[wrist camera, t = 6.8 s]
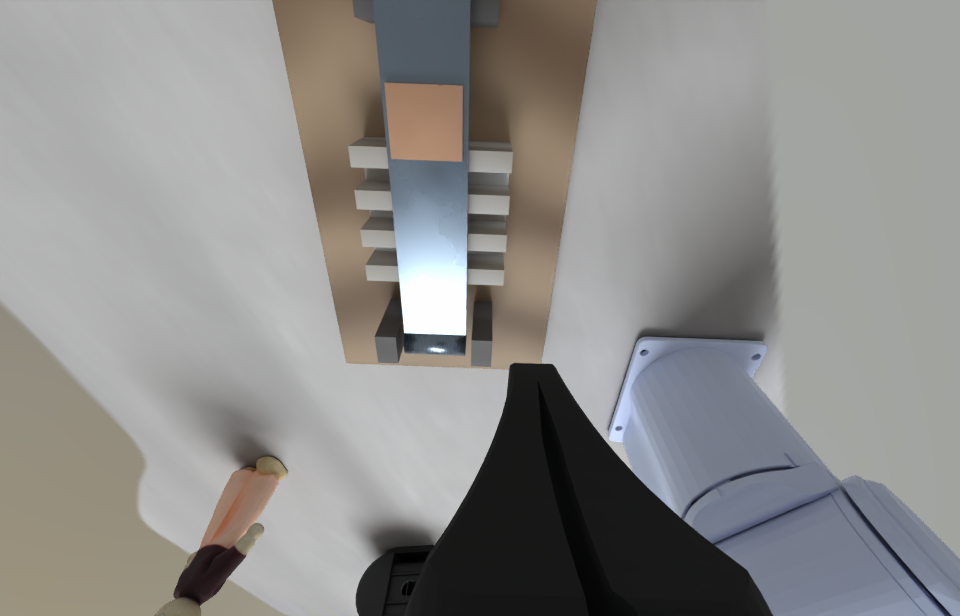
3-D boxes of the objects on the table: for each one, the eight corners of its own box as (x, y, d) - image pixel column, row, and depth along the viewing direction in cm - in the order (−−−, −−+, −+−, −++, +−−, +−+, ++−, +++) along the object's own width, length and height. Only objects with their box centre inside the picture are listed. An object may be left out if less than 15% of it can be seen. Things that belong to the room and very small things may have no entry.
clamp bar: (467, 331, 21) (465, 361, 19) (413, 329, 21) (405, 359, 19) (473, -36, 13) (470, -55, 11) (384, -39, 13) (363, -59, 11)
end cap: (367, 545, 39) (345, 629, 33) (434, 541, 38) (424, 625, 32) (394, 589, 44) (380, 667, 38) (454, 586, 43) (449, 665, 37)
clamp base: (537, 355, 25) (547, 414, 20) (353, 348, 25) (325, 405, 21) (598, -66, 14) (645, -123, 10) (274, -77, 14) (182, -140, 10)
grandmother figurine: (260, 441, 30) (133, 648, 19) (303, 463, 31) (207, 668, 21) (219, 482, 33) (89, 680, 22) (260, 500, 34) (156, 695, 24)
